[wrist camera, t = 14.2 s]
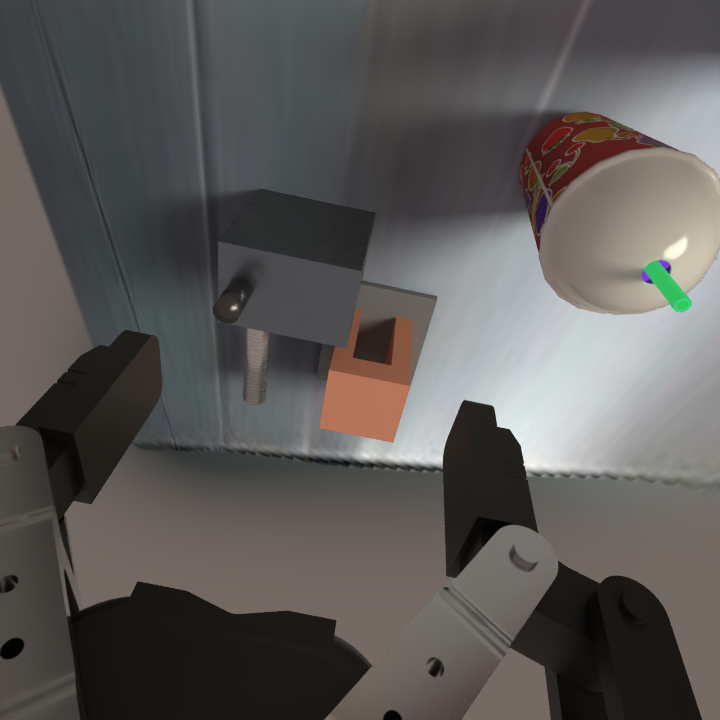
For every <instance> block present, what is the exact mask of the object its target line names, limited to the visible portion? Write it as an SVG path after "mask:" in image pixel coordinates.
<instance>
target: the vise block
mask: <svg viewBox="0 0 720 720" xmlns="http://www.w3.org/2000/svg"><path fill="white" fill-rule="evenodd" d="M374 217H375V213H372V212H368V211H363V210H358V209H353V208H349V207H344V206H339V205H334V204H330V203H325V202H320V201H315V200H311V199H306V198H301V197H296V196H292V195H287V194H282V193H277V192H273V191H268V190H263V189H261V190H260V191H259V192H258V194H257V195H256V196H255V197H254V198H253V200H252V201H251V202H250V203H249V204H248V206H247V207H246V208H245V209H244V211H243V212H242V213H241V214H240V215H239V217H238V218H237V219H236V220H235V221H234V223H233V224H232V225H231V226H230V227H229V229H228V230H227V231H226V232H225V234H224V235H223V236H222V237H221V238H220V240H219V241H218V300H217V302H216V303H215V305H214V306H213V313H214V315H215V317H216V318H217V319H218V322H220V323H225V324H230V325H235V326H239V327H244V328H246V337H245V362H244V386H243V400H244V401H245V402H246V403H248V404H250V405H259V404H261V403H263V402H264V401H265V397H266V384H267V371H268V358H269V346H270V333H274V334H278V335H283V336H288V337H293V338H298V339H303V340H308V341H313V342H317V343H322V344H327V345H332V346H337V347H342V348H347V345H348V340H349V336H350V331H351V327H352V322H353V318H354V314H355V309H356V305H357V300H358V296H359V291H360V287H361V282H362V278H363V272H364V267H365V262H366V257H367V252H368V247H369V242H370V237H371V232H372V227H373V222H374Z"/></svg>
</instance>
